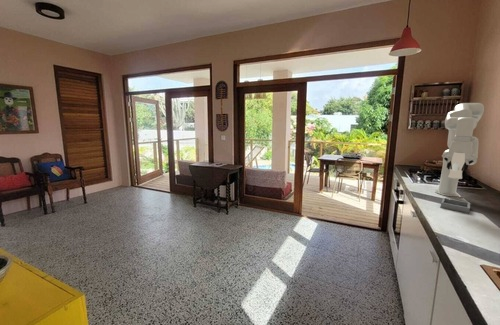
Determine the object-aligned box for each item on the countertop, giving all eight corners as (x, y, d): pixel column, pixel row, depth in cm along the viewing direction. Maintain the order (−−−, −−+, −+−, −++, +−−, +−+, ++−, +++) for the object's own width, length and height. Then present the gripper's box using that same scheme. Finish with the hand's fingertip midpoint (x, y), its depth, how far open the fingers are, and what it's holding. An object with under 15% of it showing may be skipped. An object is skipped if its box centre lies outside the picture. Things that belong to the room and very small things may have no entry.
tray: (442, 202, 149) (443, 197, 148) (469, 207, 140) (470, 202, 140) (440, 207, 139) (441, 202, 139) (468, 213, 131) (469, 208, 130)
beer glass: (457, 179, 134) (461, 153, 131) (444, 176, 140) (448, 151, 138) (466, 178, 136) (471, 153, 133) (453, 176, 142) (457, 151, 139)
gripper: (483, 140, 131) (476, 171, 134) (443, 137, 142) (438, 166, 146) (483, 141, 125) (476, 173, 129) (442, 138, 137) (436, 168, 140)
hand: (456, 169), depth 137 cm, fingers closed on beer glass, 6 cm apart
